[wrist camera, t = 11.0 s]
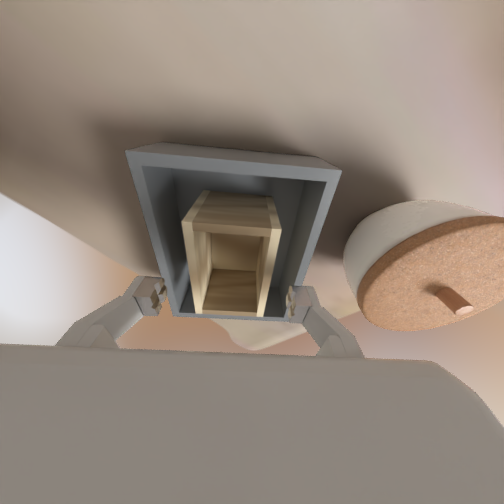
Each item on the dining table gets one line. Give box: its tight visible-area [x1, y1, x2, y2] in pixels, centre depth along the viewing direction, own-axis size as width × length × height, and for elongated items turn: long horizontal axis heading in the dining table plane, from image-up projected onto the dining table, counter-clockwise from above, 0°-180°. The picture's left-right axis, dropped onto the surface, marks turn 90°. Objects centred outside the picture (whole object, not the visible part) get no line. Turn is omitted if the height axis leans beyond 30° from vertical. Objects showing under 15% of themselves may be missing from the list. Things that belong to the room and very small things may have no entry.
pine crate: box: [181, 190, 282, 317], centre depth 16 cm, size 9×6×6 cm, turn 175°
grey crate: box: [125, 142, 342, 322], centre depth 17 cm, size 15×12×5 cm
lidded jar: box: [343, 200, 504, 331], centre depth 15 cm, size 11×11×9 cm
